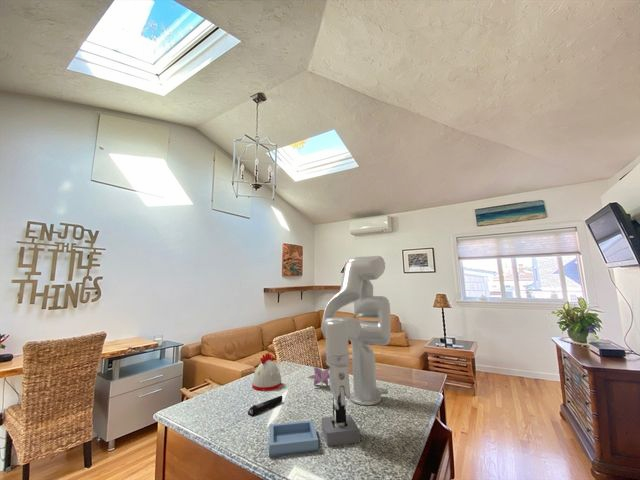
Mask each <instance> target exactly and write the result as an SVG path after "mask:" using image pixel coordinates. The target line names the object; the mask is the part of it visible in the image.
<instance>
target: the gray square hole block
mask: <svg viewBox="0 0 640 480" xmlns="http://www.w3.org/2000/svg"><path fill="white" fill-rule="evenodd" d="M320 418H321V419H320V420H321V421H320V422H321V431H322V434H323V438H324V439H325V443H326V444H325V445H326V446H327V447H332V446H339V445H349V444H356V443H360V428H359V427H358V425H357V423H356V422H355V420H354V418H353V417H352V416H351V414H346V422H345V427H336V428H335V417H334V416H333V415H332V416H326V417H320Z"/></svg>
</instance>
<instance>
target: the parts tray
mask: <svg viewBox="0 0 640 480" xmlns="http://www.w3.org/2000/svg"><path fill="white" fill-rule="evenodd" d="M306 452H307V453H308V452H309V453H315V452H319V438H318V435H317V430H316V428H315V423H314V420H313V419H312V420H311V419H310V420H302V421H290V422H283V423H282V422H281V423H273V424H272V423H271V424H269V438H268V457H269V458H274V457H275V458H276V457H283V456H292V455H298V454H299V453H301V454H307V453H306ZM299 455H300V454H299Z"/></svg>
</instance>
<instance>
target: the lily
mask: <svg viewBox="0 0 640 480" xmlns="http://www.w3.org/2000/svg"><path fill="white" fill-rule="evenodd" d="M313 371H314V375H310V376H308V379H312V380H313V385H314V386H316V385H318V384H319V383H321V389H322V391H324V388H323V387H324V385H323V384H325V385H327V386H328V385H329V380H330V379H329V368H326V369H324V370H323V369H321V368H319V367H317V366H314V367H313Z"/></svg>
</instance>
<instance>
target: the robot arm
mask: <svg viewBox="0 0 640 480" xmlns="http://www.w3.org/2000/svg"><path fill="white" fill-rule="evenodd" d="M385 269H386V262H385V259H384V258H383V257H382V256H380V255H372V256H371V255H370V256H369V255H367V256H355V257H351V258H349V259H348V260H347V263H346V264H345V266H344V269H343V274H342V279H341V284H340V289H339V292H337V293H336V294H335V295H334V296H333V297H332V298H331V299H330V300H329V301H328V303H327V304H326V306H325V307H324V310H323V315H322V317H321V318H322V319H321V326H320V327H321V328H320V329H321V333H322V335H323V337H325V352H326V353H325V357H326V358H325V359H326V362H325V363H326V365H327V366H329V368H328V369H329V379H328V380H329V388H330V389H329V390H330V393H331V395H332V417H333V416H334V417H335V415H334V399H336V408H337V409H336V423H345V422H346V415H347V411H346V410H347V409H346V408H347V407H346V405H347V403H346V399H347V400H350V401H351V402H352V403H354V404H356V405H361V406H373V405H377V404H379V403H380V402H381V400H382V396H381V395H386V394H387V395H388V394H389V390H388V388H383V387H378V386H377V374H376V373H377V372H376V355H375V352H374V350H373V349H372V347H371V345H375V346H387V345H388V344H390V342H391V335H392V334H391V333H392V332H391V322H392V321H391V305H390V300H389V299H388V298H387V297H386V296H381V295H374V285H373V283H372V282H371V281H373V280H374V281H375V280H378V279H379V278H380V277H381V276H382V275H384V272H385V271H386V270H385ZM352 303H353V313H354V315H355V316H356V317H358V318H362V319H363V318H364V319H378V320H358V319H357V318H355V317H349V316H348V317H346V316H345V317H344V316H342V317H341V316H335V315H336V313H337V312H338V311H339V310H340V309H342V308H344V307H345V306H347V305H350V304H352ZM349 341H350V343H351V353H352V355H351V356H352V359H351V360H352V376H353V377H352V381H353V392H352V393H351V388H350V387H351V386H350V376H349V369H348V366H349V364H350V354H349V353H350V351H349ZM338 397H340V398H338ZM338 401H341V402H338Z"/></svg>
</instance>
